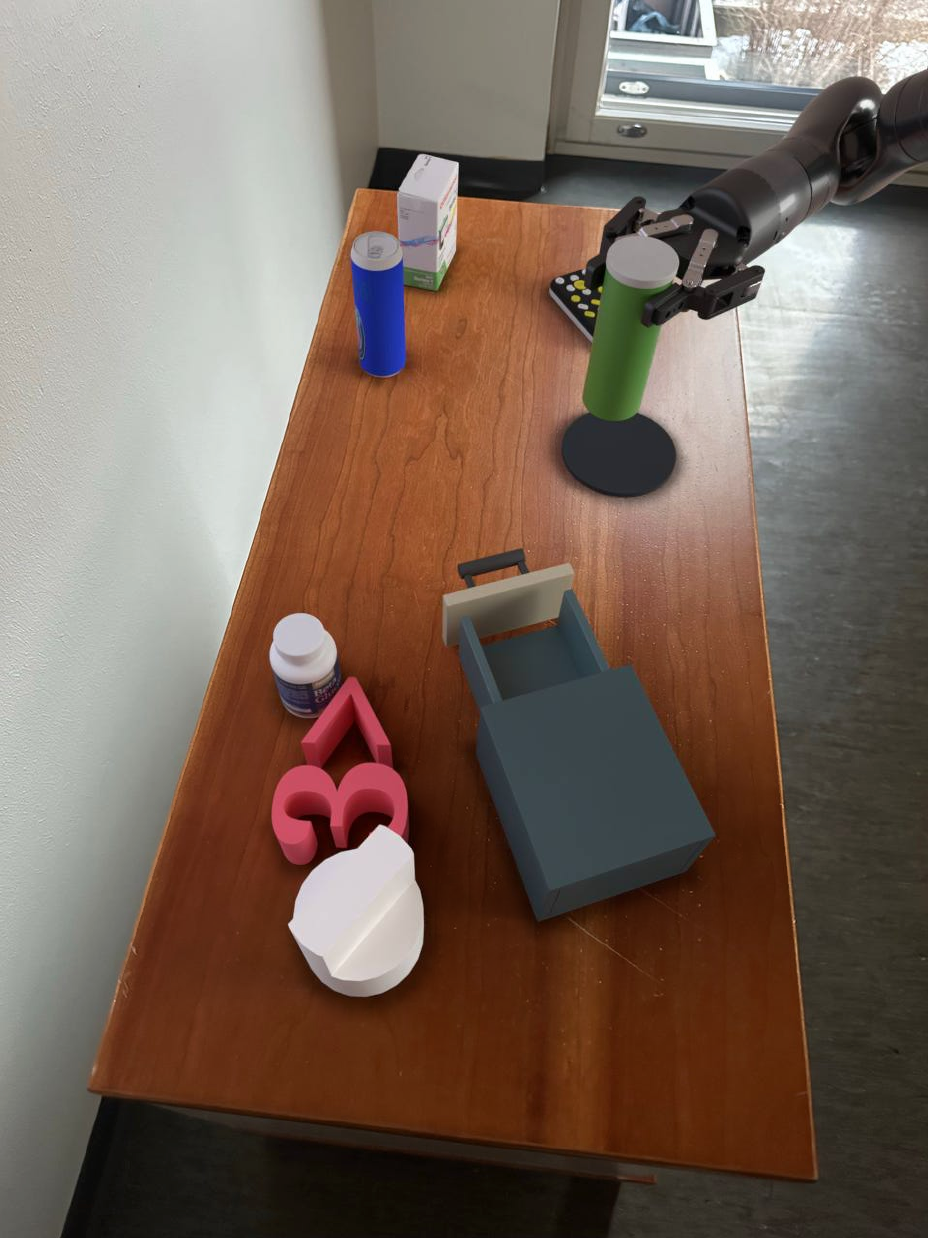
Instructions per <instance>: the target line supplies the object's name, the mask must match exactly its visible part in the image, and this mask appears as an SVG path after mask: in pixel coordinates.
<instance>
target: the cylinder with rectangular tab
mask: <svg viewBox="0 0 928 1238" xmlns="http://www.w3.org/2000/svg"><path fill="white" fill-rule="evenodd" d="M387 827H388V826H386V825H383V824H378V825H377V827H375V828H374V830H373V831H371V832H372V833H371V834H370V836H369V835H368V837H367V838H365V839H364V841H363V842H362V843H361V844H360V845H359V846H358V847H357V848H354V849H350V850H344V851H340V852H338V853H335V854H334V855H332V856H330V857H328V858H325V859H324V860H323V861H322V862H320V863H319V864H318V865H317V866H316V867H315V868H313V869H312V870H311V872H310V873H309V875H307V877H306V878H305V880H304V881H303V882H302V884H301V886H300V888H299V892H298V894H297V896H296V898H295V902H294V907H293V908H294V909H293V916H292V919H291V920H290V922H288V923H287V926H288V928H289V930H290V932H291V934H292V936H293V938H294V939H295V941H296V943H297V945H298V947H299V949H300V950H301V952H302V954H303V956H304V958H305V959H306V961H307V964H308V965H309V968H310V969H311V971H312V972H313V973H314V974H315V975H316V977H317V978H318V979H319V980H320V982H321V983H323V984H324V985H325V986H327V987H328V988H329V989H331V990H332V991H334V992H337V993H338V994H339V993H340V994H342V995H345V996H347V997H356V998H357V997H358V998H368V997H372V996H375V995H380V994H384V993H385V992H388V991H389V990H391V989H393V988H395V987H396V986H398V985H399V984H400V983H401V982H402V981H403V980H404V979H405V978H407V976H408V975H410V973H411V971H412V970H413V968H414V967H415V965H416V963H417V962H418V960H419V957H420V954H421V951H422V948H423V945H424V934H425V933H424V931H425V923H424V922H425V920H424V919H425V916H424V915H425V914H424V903H423V898H422V893H421V889H420V887H419V885H418V883H417V881H416V873H415V872H416V871H415V853H414V851H413V849H412V848H411V846H410V845H409V844H407V843H406V842H405V841H404V840H403V839H402V838H401V837H400V835H398V834H396V833H395V832H393V831H392V830H390V829H389V828H387Z"/></svg>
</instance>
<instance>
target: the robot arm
mask: <svg viewBox="0 0 928 1238" xmlns="http://www.w3.org/2000/svg"><path fill="white" fill-rule="evenodd" d="M923 164H928V68H926V69H923V70H921V71H918V72H916V73H913V74H911V75H908V76H906V77H904V78H902V79H901V80H899V81H897V82H896V83H894V85H892V86H891V87H889V89H888V90H887V92H886V93H884V94H883V92H882V89H881V87H880V86H879V85H878V84H877V82H875V81H874V80H873V79H870V78H869V77H867V76H861V75H856V76H855V75H853V76H848V77H844V78H841V79H840V80H837V81H835V82H833V83H832V84H830V85H829V86H827V87H826V88H823V90H821V91H820V92H819V93H818V94H817V95H816V96H814V97H813V98H812V99H811V101H810V102H809V103H808V104H807V105H806V106H805V107H804V108H803V110H802V111H801V112H800V114H799V115H798V116H797V118H796V119H795V121H794V122H793V124H792V125H791V127H790V128H789V130H788V131H787V132H786V134H785V135H784V136H783V137H782V139H781V140H779V141H777V142H776V143H775V144H773V145H772V146H770V147H768V148H767V149H766V150H763V151H762V152H760V153H759V154H756V155H754V156H751V157H749V158H746V159H744V160H743V161H741V162H739V163H737V164H736V165H734V166H732V167H731V168H729V169H728V170H726V171H725V172H723V173H721V174H719V175H718V176H717V177H716V176H715V178H713V179H711V180H710V181H709V182H706V183H705V184H703V185H702V186H700V187H699V188H697V189H696V190H694V191H693V192H692V193H690V194H689V195H688V197H686V199H685V200H684V201H683V202H682V203H681V204H680V205H679V206H678V207H677V208H674V209H668V210H664V211H662V212H660V213H658V212H655V211H653V210H651V209H647V208H646V204H647V199H646V198H645V197H643V196H633V197H632V199H630V200H629V201H628V202H627V203H626V204H625V205H623V207H622V208H621V209H620V210H619V211H618V212H617V213H616V214H615V215H614V216H612V217H611V219H610V220H609V221H608V222H606V223H605V224H604V225H603V230H602V235H601V241H600V247H599V252H598V254H595V256H593V257H591V258H590V259H588V261H587V263H586V265H585V269H586V271H585V277H584V279H585V281H584V287H586V288H587V289H589V290H590V291H593V290H595V289H596V288H598V287H599V286H601V285H603V282H604V276H605V271H606V258H607V253H608V250H609V248H610V247H611V246H612V244H614V243H615V242H616V241H618V240H620V239H623V238H626V237H631V236H646V237H651V238H655V239H658V240H660V241H663V242H665V243H666V244H668V245H669V246H671V247H672V248H673V249H674V251H675V252H676V253H677V255H678V258H679V266H678V270H677V274H676V276H675V278H677V279H679V280H680V281H681V283H680V284H679V283H678V282H676V281H675V282H673V284H672V285H670V286H669V287H668V288H666V289H665V290H663V291H662V292H660V293H659V294H657V295H656V296H654V297H653V298H651V299H650V300H649V301H647V303H646V304H645V306H644V309H643V314H642V318H641V324H642V325H644V326H645V327H647V328H650V327H652V326H653V325H654V324H655V325H656V326H659V325H665V323H667V322H668V321H671V319H673V318H674V317H675V316H677V315H679V314H680V313H688V312H689V311H693V312H695V313H697V314H696V316H697V318H699V319H700V320H703V321H709V320H711V319H713V318H716V317H718V316H721V315H722V314H725V313H727V312H729V311H731V310H734V309H735V308H738V307H740V306H743V305H744V304H747V303H749V302H752V301H753V300H755V299H756V298H757V295H758V292H759V290H760V288H761V285H762V282H763V278H764V276H765V274H766V268H765V267H763V266H762V265H758V264H755V265H751V266H747V265H749V264H750V263H751V262H753V261H755V260H756V259H758V258H759V257H761V256H762V255H763V254H765V253H766V252H767V251H769V250H770V249H772V248H774V246H776V245H778V244H779V243H780V242H782V241H783V240H784V239H785V238H786V237H788V235H790V234H791V233H792V232H793V231H794V229H795V228H797V227H799V225H801V224H802V223H803V222H805V221H806V220H808V219H809V218H811V217H812V216H814V215H815V214H816V213H818V212H819V211H820V210H821V211H822V209H823V208H824V207H826V206H827V205H829V203H830V202H831V203H833V204H835V205H839V206H852V205H854V204H858V203H860V202H863V201H865V200H867V199H869V198H871V197H872V196H874V195H876V194H877V193H878V192H880V191H881V190H882V189H884V188H885V187H887V186H888V185H890V184H891V183H892V182H894V181H895V180H896V179H898V178H899V177H901V176H902V175H903V174H905V173H907V172H908V171H910V170H912V169H914V168H916V167H919V166H921V165H923ZM714 280H716V281H715V282H712V283H710V284H708V285H706V286H705V287H704V286H702V285H703V283H704V282H705V281H714Z"/></svg>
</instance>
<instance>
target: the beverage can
mask: <svg viewBox="0 0 928 1238" xmlns="http://www.w3.org/2000/svg"><path fill="white" fill-rule="evenodd" d="M350 266H351V276H352V289H353V302H354V311H355V314H354V315H355V323H356V336H357V337H356V338H357V346H358V359H359V365H360V367H361V369H362V370H363V371H365V372H366V373H367V374H368V375H370V376H372V377H375V378H379V379H385V378H386V379H387V378H391V377H393V376H396V375H397V374H399V373H400V372H401V371H402V370H403V369H404V367H405V365H406V362H407V350H406V348H407V347H406V318H405V312H406V311H405V285H404V277H403V252H402V249H401V247H400V244H399V239H398V238H396V237H395V236H394V235H393V234H390V233H388V232H385V231H378V230H377V231H376V230H375V231H367V232H365V233H362V234H360V235H358V236H356V238H355V239H354V240H353V242H352V246H351V250H350Z"/></svg>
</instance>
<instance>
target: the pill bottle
mask: <svg viewBox="0 0 928 1238" xmlns="http://www.w3.org/2000/svg"><path fill="white" fill-rule="evenodd" d="M272 639H273V640H272V643H271V645H270V649H269V663H270V666H271V670H272V674H273V677H274V680H275V683H276V687H277V690H278V694H279V697H280V700H281V702H282V704H283V706H284V707H285V709H286V710H287V711H288V712H289V713H290V714H292V715H293V716H296V717H298V718H303V719H318V718H319V717H320V716H321V714H322V713H323V712H324V710H325V709H326V707H327V706H328V705H329V703H330V702H331V701H332V699H333V698H334V697H335V695H336V694H337V692H338V691H339V690H340V688H341V687H342V686H343V680H342V673H341V668H340V662H339V656H338V655H339V654H338V650H337V646H336V642H335V640H334V638H333V636H332V635H331V634H330V633H329V631H327V629H325V628H324V625H323V623H322V622H321V621H320V620H319V619H318V618H317V617H315V616H314V615H312V614H309V613H304V612H297V613H293V614H289V615H287V616H285V617H283V618H282V619H281V620H279V622H278V623H277V624H276V626H275V627H274V630H273V633H272Z"/></svg>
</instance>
